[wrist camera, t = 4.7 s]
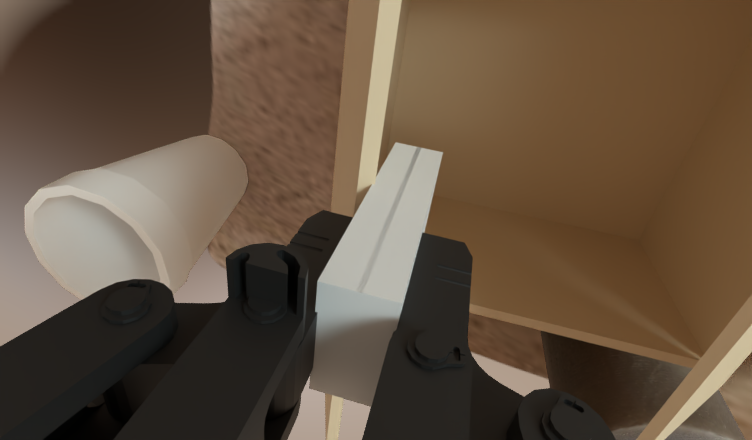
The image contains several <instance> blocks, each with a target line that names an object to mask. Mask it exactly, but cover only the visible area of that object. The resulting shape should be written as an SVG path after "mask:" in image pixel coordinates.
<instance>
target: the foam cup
mask: <svg viewBox="0 0 752 440" xmlns="http://www.w3.org/2000/svg"><path fill="white" fill-rule="evenodd" d="M248 182H249V181H248V175H247V169H246V165H245V164H244V162H243V160H242V159H241V157H240V155H239V154H238V152H237V151H236V150H235V149H234V148H232V147H231V146H230V145H229V144H227V143H226V142H225V141H224V140H222V139H219V138H216V137H213V136H210V135H201V136H196V137H191V138H188V139H184V140H181V141H178V142H175V143H172V144H169V145H166V146H163V147H159V148H157V149H153V150H150V151H147V152H144V153H141V154H138V155H135V156H132V157H129V158H126V159H123V160H120V161H117V162H114V163H111V164H108V165H105V166H102V167H99V168H96V169H91V170H84V171H77V172H73V173H71V174H69V175H67V176H65V177H63V178H61V179H59V180H57V181H55V182H52V183H50V184H49V185H47V186H44V187H43V188H40V189H39V190H38V191H37V193H36V194H35V195H34V196H33V197H32V198H31V199H30V201H29V202H28V203H27V204H26V205H25V207H24V208H25V209H24V210H25V234H26V236H27V238H28V240H29V242H30V244H31V246H32V248H33V250H34V253H35V255H36V257H37V259H38V261H39V262H40V263H41V264H42V265H43V266H44V268H45V269H46V270H47V271H48V272H49V273H50V274H51V275H52V276H53V277H54V279H55V280H56V281H57V282H58V283H59V284H60V285H61V286H62V287H63V288H64V289H66V290H67V291H69V292H70V293H72V294H73V295H75V296H77V297H78V298H79V299H81V300H82V299H84V298H86V297H88V296H89V295H91V294H93V293H95V292H96V291H98V290H100V289H102V288H105V287H107V286H109V285H112V284H114V283H116V282H121V281H126V280H131V279H151V280H154V281H157V282H160V283H164V284H165V285H166V286H167V287H168V288H169V289H170V290H171V291H172V293H173V295H174V294H175V293H176V292H177V291H178V289H179V288H180V287H181V286H182V285H183V284H184V283H185V282H186V281H187V278H188V275H189V272H190V270H191V269H192V267H193V266H194V265H195V263H196V262H197V260H198V259H199V257H200V256H201V255H202V253H203V252H204V250H205V249H206V248H207V246H208V245H209V243H210V242H211V241H212V239H213V238H214V236H215V235H216V234H217V232H218V231H219V229H220V228H221V227H222V225H223V224H224V222H225V221H226V219H227V218H228V217H229V215H230V214H231V212H232V211H233V210H234V208H235V207H236V205H237V204H238V203H239V201H240V200H241V198H242V196H243V195H244V193H245V190H246V187H247V185H248Z"/></svg>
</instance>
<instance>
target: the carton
mask: <svg viewBox="0 0 752 440" xmlns="http://www.w3.org/2000/svg"><path fill="white" fill-rule="evenodd" d="M396 142H397V143H401V144H406V145H411V146H415V147H420V148H425V149H430V150H434V151H439V152H443V155H442V159H441V163H440V168H439V172H438V176H437V181H436V185H435V189H434V194H433V198H432V202H431V206H430V211H429V215H428V219H427V224H426V228H425V232H424V233H427V234H431V235H435V236H439V237H444V238H448V239H452V240H456V241H460V242H465V244H466V246H467V248H468V250H469V251H470V253H471V255H472V257H473V263H472V274H471V276H472V277H471V287H470V288H471V292H470V307H469V313H473V314H477V315H481V316H485V317H489V318H493V319H497V320H501V321H505V322H509V323H513V324H517V325H521V326H525V327H529V328H533V329H537V330H541V331H545V332H549V333H553V334H557V335H561V336H565V337H569V338H573V339H577V340H581V341H585V342H589V343H593V344H597V345H601V346H605V347H609V348H613V349H617V350H621V351H625V352H629V353H633V354H637V355H641V356H645V357H649V358H653V359H657V360H661V361H665V362H669V363H673V364H677V365H681V366H685V367H689V368H693V367H694V366H695V365H696V364H697V362H698V361H699V360H700V359H701V357H702V356H703V355H704V354H705V352H706V351H707V350H708V349H709V347H710V346H711V345H712V344H713V342H714V341H715V340H716V339H717V337H718V336H719V335H720V334H721V332H722V331H723V330H724V329H725V327H726V326H727V325H728V324H729V322H730V321H731V320H732V318H733V317H734V316H735V315H736V313H737V312H738V311H739V310H740V308H741V307H742V306H743V305H744V303H745V302H746V301H747V300H748V298H749V297H750V296H751V295H752V0H402V2H401V9H400V15H399V22H398V29H397V36H396V43H395V50H394V57H393V64H392V71H391V77H390V84H389V91H388V98H387V105H386V112H385V119H384V126H383V132H382V139H381V146H380V153H379V160H378V167H377V174H376V176H377V175H378V173H379V171H380V169H381V167H382V166H383V164H384V162H385V160H386V159H387V157H388V155H389V153H390V151H391V150H392V148H393V146H394V144H395V143H396Z"/></svg>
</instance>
